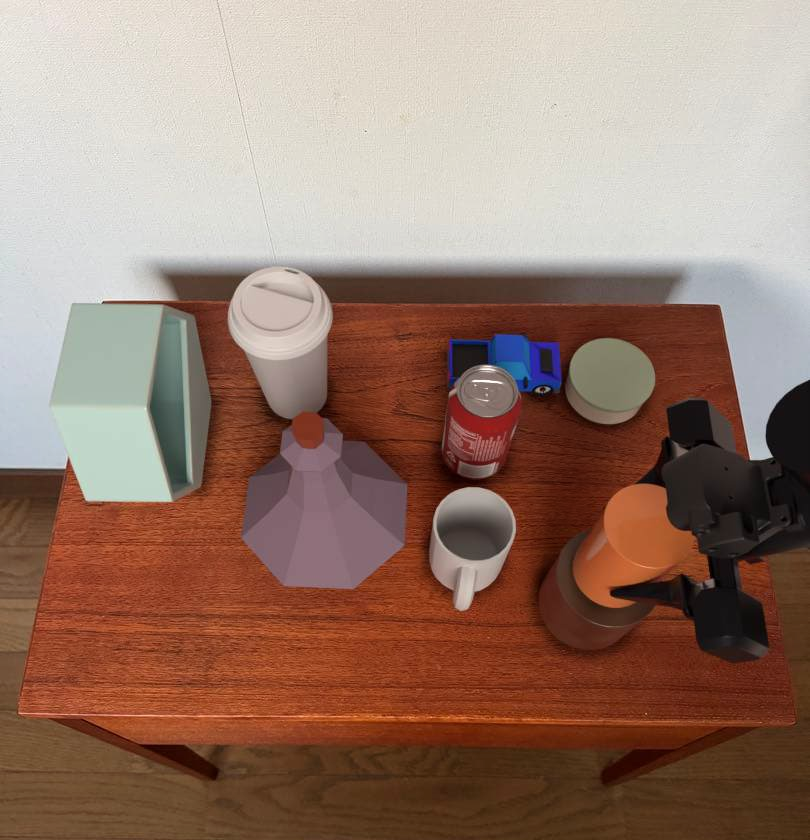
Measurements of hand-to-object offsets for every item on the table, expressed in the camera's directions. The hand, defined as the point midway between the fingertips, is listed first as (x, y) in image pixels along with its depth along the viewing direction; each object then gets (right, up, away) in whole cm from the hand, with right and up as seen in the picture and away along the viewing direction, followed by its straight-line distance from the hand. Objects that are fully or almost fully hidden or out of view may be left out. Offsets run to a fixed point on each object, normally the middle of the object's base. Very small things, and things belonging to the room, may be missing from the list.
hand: (608, 552), depth 58 cm
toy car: (-6, +18, +22) cm, 29 cm away
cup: (-10, -3, +13) cm, 17 cm away
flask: (-24, +2, +15) cm, 28 cm away
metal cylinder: (+1, -5, +12) cm, 14 cm away
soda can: (-9, +10, +19) cm, 23 cm away
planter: (-41, +10, +18) cm, 46 cm away
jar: (+6, +17, +22) cm, 28 cm away
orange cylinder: (+1, -2, +4) cm, 4 cm away
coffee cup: (-28, +16, +21) cm, 38 cm away
